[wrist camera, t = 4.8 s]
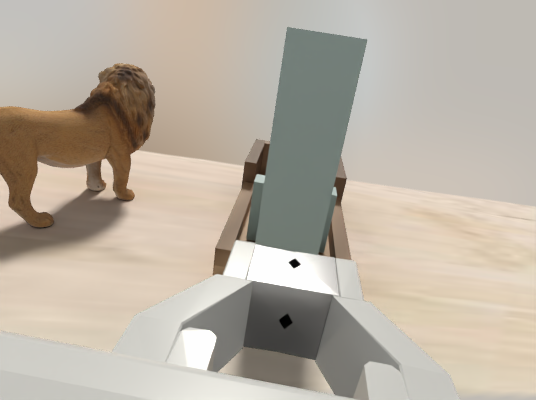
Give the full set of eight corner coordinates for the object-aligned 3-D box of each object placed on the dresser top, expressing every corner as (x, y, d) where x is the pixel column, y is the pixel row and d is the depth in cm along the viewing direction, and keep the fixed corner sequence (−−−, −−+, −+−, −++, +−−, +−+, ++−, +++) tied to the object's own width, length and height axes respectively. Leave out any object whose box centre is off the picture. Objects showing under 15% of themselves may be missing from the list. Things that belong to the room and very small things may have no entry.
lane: (211, 289, 20) (215, 247, 19) (240, 213, 28) (244, 181, 27) (342, 312, 20) (353, 272, 18) (332, 229, 28) (339, 198, 27)
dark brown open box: (238, 212, 28) (244, 161, 27) (250, 183, 34) (256, 139, 32) (334, 229, 28) (346, 178, 26) (330, 196, 34) (340, 153, 32)
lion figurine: (122, 168, 33) (120, 57, 29) (171, 185, 31) (175, 70, 27) (-88, 232, 21) (-135, 56, 17) (-28, 268, 19) (-67, 78, 15)
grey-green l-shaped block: (236, 269, 19) (268, 24, 14) (249, 229, 23) (277, 26, 18) (325, 285, 19) (386, 42, 14) (323, 242, 22) (369, 40, 18)
